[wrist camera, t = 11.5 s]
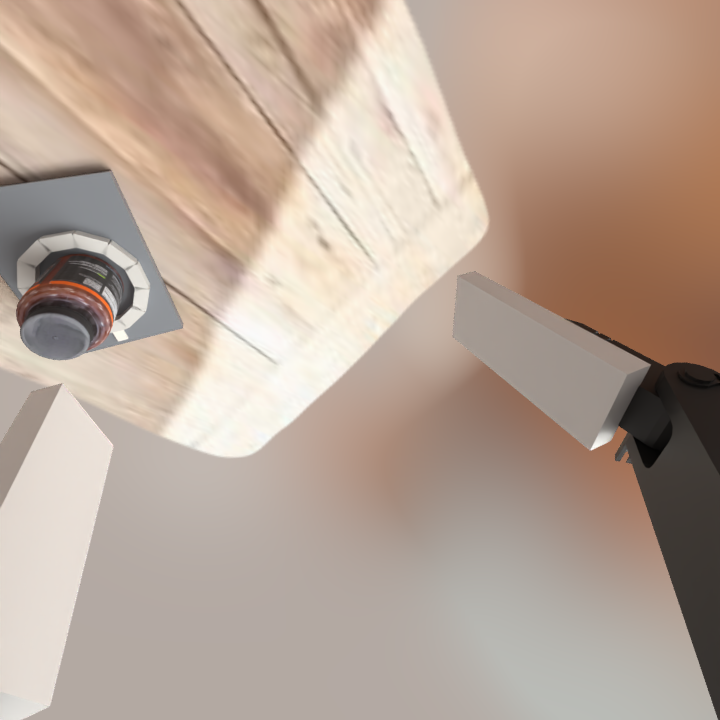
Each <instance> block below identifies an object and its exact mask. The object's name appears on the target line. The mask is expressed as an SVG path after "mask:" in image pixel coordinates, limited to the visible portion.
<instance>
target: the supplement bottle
mask: <svg viewBox="0 0 720 720" xmlns="http://www.w3.org/2000/svg"><path fill="white" fill-rule="evenodd" d="M123 293H124V285H123V281H122V279H121V276H120V275H119V273H118V272H117V271H116V270H115V269H114V268H113V267H112V266H111V265H110V264H108V263H107V262H105V261H104V260H102V259H99V258H97V257H94V256H91V255H86V254H71V255H66V256H63V257H61V258H59V259H57V260H56V261H55V262H54V263H52V264H51V265H50V266H49V268H48V269H47V270H46V271H45V272H44V273H43V274H42V275H41V276H40V277H39V278H38V279H37V281H36V282H35V283H34V284H33V285H32V286H31V287H30V288H29V289H28V291H27V292H26V293H25V294H24V295H23V297H22V298H21V299H20V301H19V303H18V306H17V309H16V317H17V321H18V324H19V326H20V328H21V329H20V336H21V339H22V341H23V343H24V344H25V345H26V347H28V348H29V349H30V350H31V351H32V352H34V353H36V354H37V355H39V356H42V357H45V358H48V359H53V360H69V359H73V358H76V357H78V356H80V355H82V354H83V353H84V352H85V351H88V350H91V349H93V348H95V347H97V346H99V345H100V344H101V343H103V342H104V341H105V339H106V338H107V337H108V335H109V333H110V331H111V328H112V326H113V323H114V320H115V318H116V314H117V312H118V309H119V306H120V303H121V300H122V298H123Z"/></svg>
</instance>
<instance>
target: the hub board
mask: <svg viewBox="0 0 720 720" xmlns="http://www.w3.org/2000/svg"><path fill="white" fill-rule="evenodd" d="M71 254H86V255H91V256H94V257H97V258H99V259H102V260H104V261H105V262H107V263H108V264H110V265H111V266H112V267H113V268H114V269H115V270H116V271H117V272H118V273H119V275H120V276H121V279H122V281H123V285H124V293H123V298H122V300H121V303H120V306H119V309H118V312H117V314H116V318H115V320H114V323H113V326H112V328H111V331H110V333H109V335H108V337H107V338H106V339H105V341H104V342H103V343H101V344H100V345H99V346H97V347H95V348H93V349H91V350H88V351H85V352H84V353H88V352H92V351H96V350H100V349H103V348H107V347H111V346H115V345H119V344H123V343H127V342H131V341H135V340H139V339H142V338H146V337H150V336H154V335H158V334H162V333H166V332H170V331H174V330H177V329H181V328H183V322H182V320H181V318H180V316H179V314H178V311H177V309H176V307H175V305H174V303H173V301H172V299H171V296H170V294H169V292H168V290H167V288H166V286H165V284H164V281H163V279H162V277H161V275H160V273H159V271H158V269H157V267H156V264H155V262H154V260H153V258H152V256H151V254H150V252H149V249H148V247H147V245H146V243H145V241H144V239H143V237H142V234H141V232H140V230H139V228H138V226H137V224H136V222H135V219H134V217H133V215H132V213H131V211H130V209H129V207H128V205H127V202H126V200H125V198H124V196H123V194H122V192H121V190H120V187H119V185H118V183H117V181H116V179H115V177H114V175H113V172H112V170H110V171H103V172H96V173H89V174H82V175H74V176H67V177H60V178H53V179H46V180H39V181H32V182H25V183H18V184H11V185H4V186H0V275H1V276H2V278H3V279H4V280H5V282H6V283H7V284H8V285H9V287H10V288H11V289H12V291H13V292H14V293H15V295H16V296H17V297H18V299H19V300H20V299H21V298H22V297H23V295H24V294H25V293H26V292H27V291H28V289H29V288H30V287H31V286H32V285H33V284H34V283H35V282H36V281H37V279H38V278H39V277H40V276H41V275H42V274H43V273H44V272H45V271H46V270H47V269H48V268H49V266H50V265H51V264H52V263H54V262H55V261H56V260H57V259H59V258H61V257H63V256H66V255H71ZM84 353H83V354H84Z"/></svg>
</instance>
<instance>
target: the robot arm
mask: <svg viewBox="0 0 720 720" xmlns="http://www.w3.org/2000/svg"><path fill="white" fill-rule="evenodd" d="M453 338H455V339H456V340H457V341H458V342H460V343H461V344H462V345H463V346H464V347H466V348H467V349H468V350H469V351H471V352H472V353H473V354H474V355H475V356H476V357H478V358H479V359H480V360H481V361H482V362H484V363H485V364H486V365H487V366H489V367H490V368H491V369H492V370H493V371H495V372H496V373H497V374H498V375H499V376H501V377H502V378H503V379H504V380H505V381H507V382H508V383H509V384H510V385H511V386H513V387H514V388H515V389H516V390H517V391H519V392H520V393H521V394H522V395H524V396H525V397H526V398H527V399H528V400H530V401H531V402H532V403H533V404H534V405H536V406H537V407H538V408H539V409H540V410H542V411H543V412H544V413H545V414H546V415H548V416H549V417H550V418H551V419H553V420H554V421H555V422H556V423H557V424H559V425H560V426H561V427H562V428H564V429H565V430H566V431H567V432H568V433H569V434H571V435H572V436H573V437H574V438H575V439H577V440H578V441H579V442H580V443H582V444H583V445H584V446H585V447H586V448H588V449H589V450H590V451H591V450H593V449H595V448H597V447H599V446H601V445H603V444H605V443H607V442H609V441H611V439H612V437H613V435H614V433H615V432H616V430H617V428H618V426H620V427H621V428H623V429H624V430H626V431H627V432H628V433H627V435H626V437H625V438H624V440H623V442H622V444H621V445H620V447H619V449H618V451H617V452H616V454H615V460H616V461H620V460H621V458H622V457H623V455H624V453H625V452H627V451H628V454H629V458H628V459H627V461H626V462H627V463H631V464H632V465H633V468H634V471H635V474H636V477H637V480H638V483H639V486H640V489H641V492H642V495H643V498H644V501H645V504H646V507H647V510H648V513H649V516H650V519H651V522H652V525H653V528H654V531H655V534H656V537H657V539H658V543H659V545H660V548H661V551H662V554H663V557H664V560H665V563H666V566H667V569H668V572H669V575H670V578H671V581H672V584H673V587H674V590H675V593H676V596H677V599H678V602H679V605H680V608H681V611H682V614H683V617H684V620H685V623H686V626H687V629H688V632H689V635H690V637H691V640H692V643H693V646H694V649H695V652H696V655H697V658H698V661H699V664H700V667H701V670H702V673H703V676H704V679H705V682H706V685H707V688H708V691H709V694H710V697H711V700H712V703H713V706H714V709H715V711H716V715H717V718H718V720H720V373H718V372H716V371H714V370H712V369H709V368H706V367H704V366H700V365H696V364H690V363H672V364H669V365H667V366H663V365H661V364H659V363H657V362H655V361H654V360H651V359H650V358H648V357H646V356H644V355H642V354H640V353H638V352H636V351H634V350H632V349H630V348H628V347H627V346H625V345H623V344H621V343H619V342H617V341H615V340H613V341H612V340H611V338H609V337H607V336H605V335H603V334H599V333H598V331H596V330H594V329H592V328H590V327H588V326H586V325H584V324H582V323H578V322H575V321H572V320H568V319H565V318H562V317H560V316H558V315H556V314H555V313H552V312H551V311H549V310H547V309H545V308H543V307H541V306H539V305H538V304H536V303H533V302H532V301H530V300H528V299H526V298H524V297H522V296H520V295H519V294H517V293H515V292H513V291H511V290H509V289H507V288H505V287H504V286H502V285H500V284H498V283H496V282H494V281H492V280H490V279H488V278H487V277H485V276H483V275H481V274H479V273H477V272H475V271H474V272H470V273H466V274H463V275H459V276H458V279H457V290H456V303H455V313H454V325H453ZM113 447H114V446H113V444H112V443H111V442H110V441H109V440H108V438H107V437H106V436H105V435H104V433H103V432H102V431H101V430H100V428H99V427H98V426H97V425H96V423H95V422H94V421H93V420H92V419H91V417H90V416H89V415H88V414H87V412H86V411H85V410H84V409H83V408H82V406H81V405H80V404H79V403H78V401H77V400H76V399H75V398H74V396H73V395H72V394H71V393H70V391H69V390H68V389H67V388H66V387H65V385H64V384H63V383H62V384H58V385H54V386H51V387H47V388H43V389H39V390H36V391H32V392H31V393H30V395H29V397H28V398H27V400H26V402H25V403H24V405H23V407H22V408H21V410H20V412H19V413H18V415H17V417H16V418H15V420H14V422H13V423H12V425H11V427H10V428H9V430H8V432H7V433H6V435H5V437H4V438H3V440H2V442H1V443H0V720H22V719H24V718H26V717H28V716H30V715H33V714H35V713H37V712H39V711H41V710H43V709H45V708H47V707H49V706H50V704H51V700H52V696H53V692H54V688H55V683H56V679H57V675H58V671H59V667H60V663H61V659H62V655H63V651H64V647H65V643H66V638H67V634H68V630H69V626H70V622H71V618H72V614H73V610H74V606H75V602H76V598H77V594H78V590H79V585H80V581H81V577H82V573H83V569H84V565H85V561H86V557H87V553H88V548H89V545H90V540H91V536H92V532H93V528H94V524H95V520H96V516H97V512H98V508H99V503H100V500H101V495H102V492H103V487H104V483H105V479H106V475H107V471H108V467H109V462H110V459H111V455H112V451H113Z"/></svg>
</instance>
